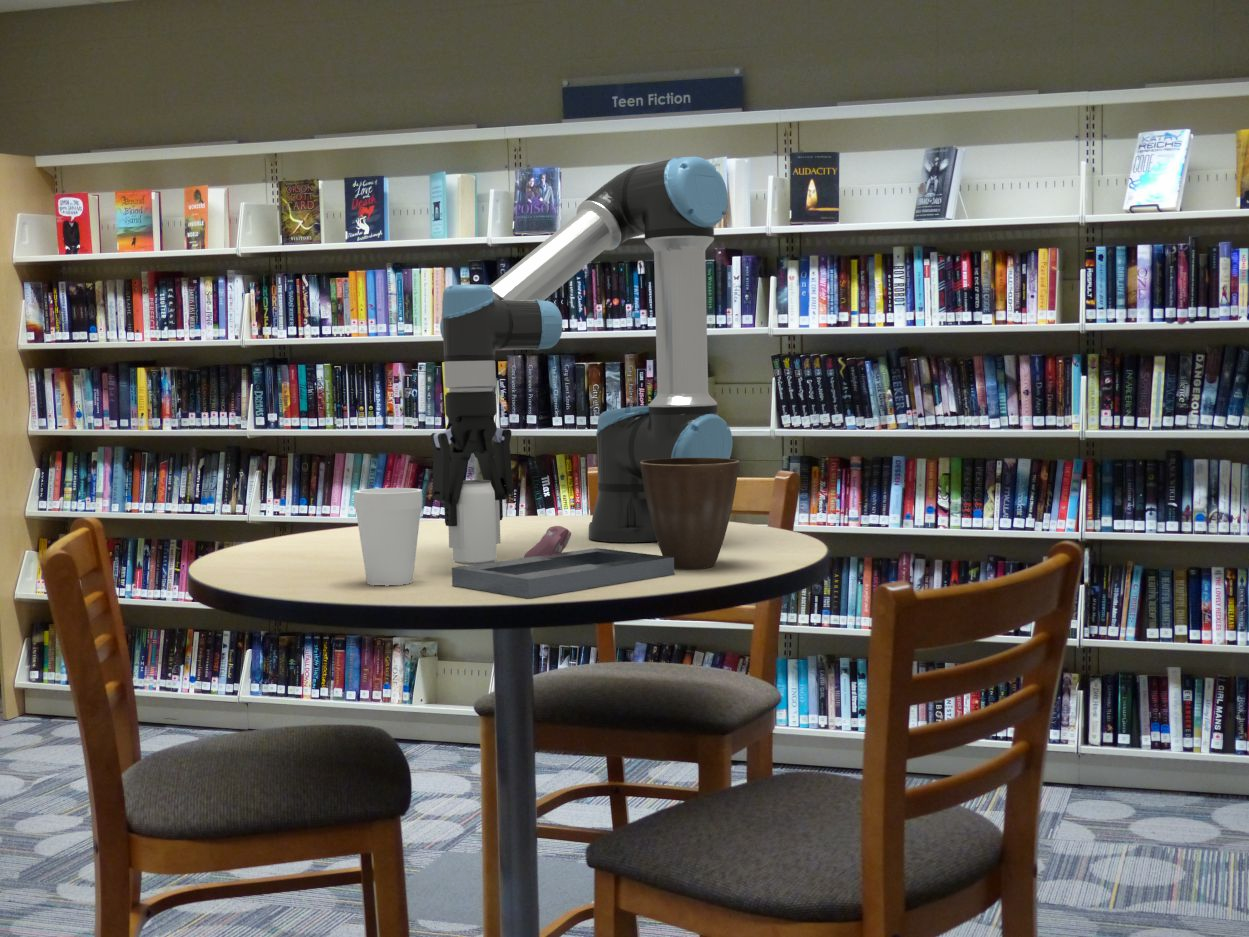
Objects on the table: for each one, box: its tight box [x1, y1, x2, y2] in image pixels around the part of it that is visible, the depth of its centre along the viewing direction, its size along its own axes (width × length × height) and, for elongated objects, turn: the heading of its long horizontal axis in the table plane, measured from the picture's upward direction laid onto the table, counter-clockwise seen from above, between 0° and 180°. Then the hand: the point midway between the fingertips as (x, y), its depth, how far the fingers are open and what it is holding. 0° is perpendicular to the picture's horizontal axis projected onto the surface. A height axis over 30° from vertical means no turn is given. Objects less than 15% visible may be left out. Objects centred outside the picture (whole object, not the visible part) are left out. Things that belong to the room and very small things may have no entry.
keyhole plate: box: [451, 547, 675, 599], centre depth 187 cm, size 28×16×2 cm, turn 135°
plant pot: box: [640, 458, 740, 570], centre depth 199 cm, size 15×15×16 cm
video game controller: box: [522, 525, 572, 558], centre depth 205 cm, size 10×5×7 cm, turn 169°
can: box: [452, 479, 497, 565], centre depth 197 cm, size 6×6×12 cm
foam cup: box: [353, 487, 423, 587], centre depth 186 cm, size 10×9×13 cm
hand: (475, 545), depth 197 cm, fingers closed on can, 6 cm apart
